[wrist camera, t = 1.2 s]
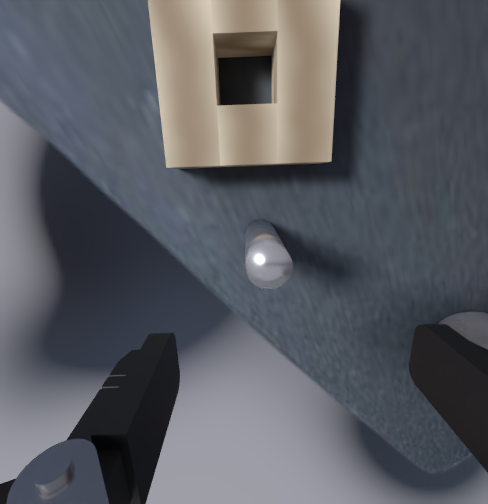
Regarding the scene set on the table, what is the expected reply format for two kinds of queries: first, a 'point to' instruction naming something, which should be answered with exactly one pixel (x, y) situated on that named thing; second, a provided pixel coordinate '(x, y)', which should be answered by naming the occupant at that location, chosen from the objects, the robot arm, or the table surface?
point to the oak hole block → (251, 115)
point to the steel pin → (266, 256)
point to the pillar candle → (470, 326)
